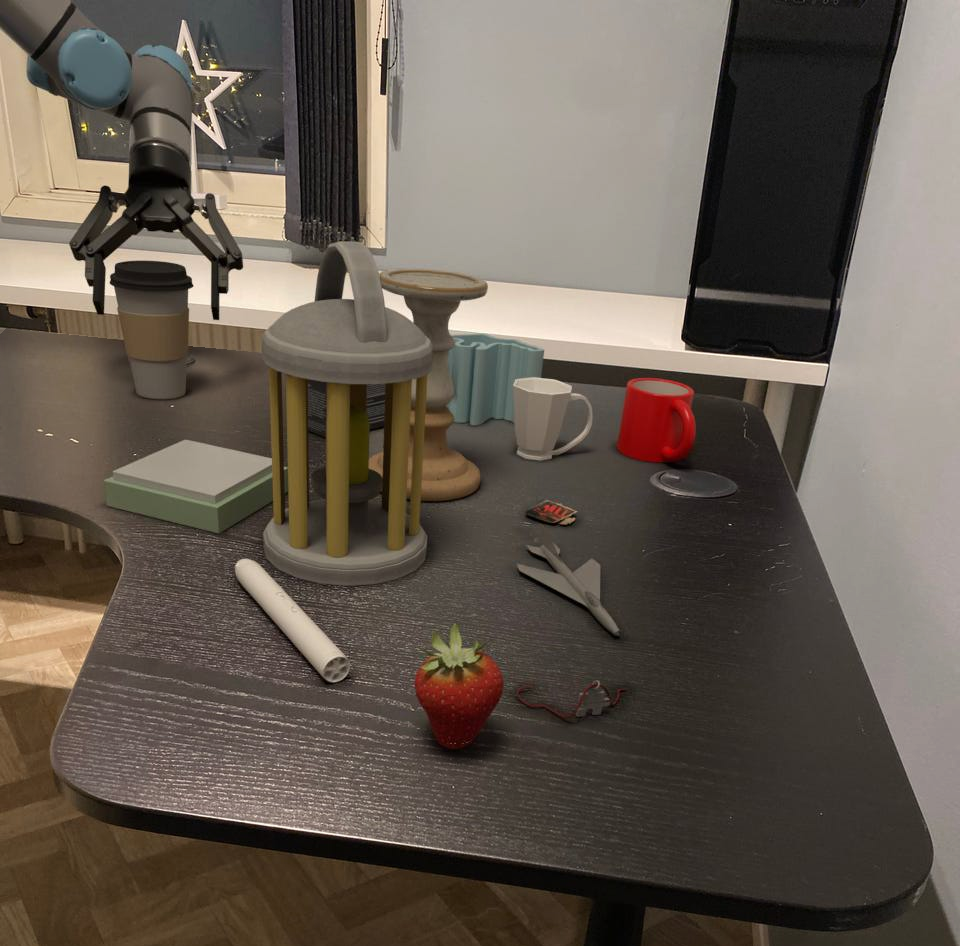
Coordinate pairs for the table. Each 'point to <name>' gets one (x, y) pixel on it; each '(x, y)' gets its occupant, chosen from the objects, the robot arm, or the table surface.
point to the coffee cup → (154, 324)
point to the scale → (194, 485)
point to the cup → (543, 416)
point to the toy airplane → (571, 580)
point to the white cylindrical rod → (293, 621)
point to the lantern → (347, 430)
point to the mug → (657, 421)
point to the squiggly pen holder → (489, 375)
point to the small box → (319, 406)
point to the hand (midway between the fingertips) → (157, 311)
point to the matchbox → (551, 512)
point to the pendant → (584, 700)
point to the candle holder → (435, 377)
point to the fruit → (457, 689)
